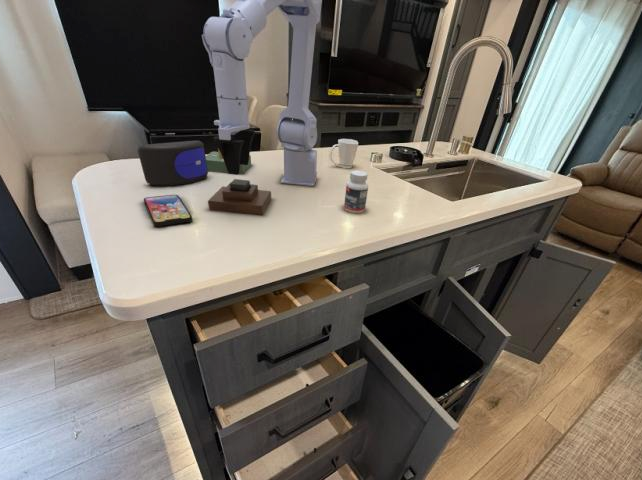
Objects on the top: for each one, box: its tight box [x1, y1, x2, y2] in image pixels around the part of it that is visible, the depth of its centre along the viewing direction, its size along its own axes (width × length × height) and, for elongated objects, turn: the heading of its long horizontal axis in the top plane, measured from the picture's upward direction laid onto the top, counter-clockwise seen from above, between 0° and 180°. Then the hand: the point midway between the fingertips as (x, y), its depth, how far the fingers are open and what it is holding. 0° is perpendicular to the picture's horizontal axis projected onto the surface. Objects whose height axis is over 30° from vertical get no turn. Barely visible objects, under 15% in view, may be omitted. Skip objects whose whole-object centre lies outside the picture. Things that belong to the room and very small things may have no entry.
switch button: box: [229, 178, 251, 192], centre depth 74 cm, size 4×4×2 cm
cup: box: [329, 138, 359, 169], centre depth 108 cm, size 7×10×8 cm
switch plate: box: [207, 183, 272, 216], centre depth 75 cm, size 12×10×4 cm
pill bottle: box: [343, 170, 369, 214], centre depth 78 cm, size 5×5×9 cm
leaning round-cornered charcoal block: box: [137, 140, 209, 187], centre depth 82 cm, size 16×5×9 cm, turn 134°
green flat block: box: [205, 151, 252, 175], centre depth 98 cm, size 12×10×3 cm
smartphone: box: [143, 194, 193, 227], centre depth 70 cm, size 7×1×15 cm
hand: (238, 169), depth 72 cm, fingers open, 7 cm apart
